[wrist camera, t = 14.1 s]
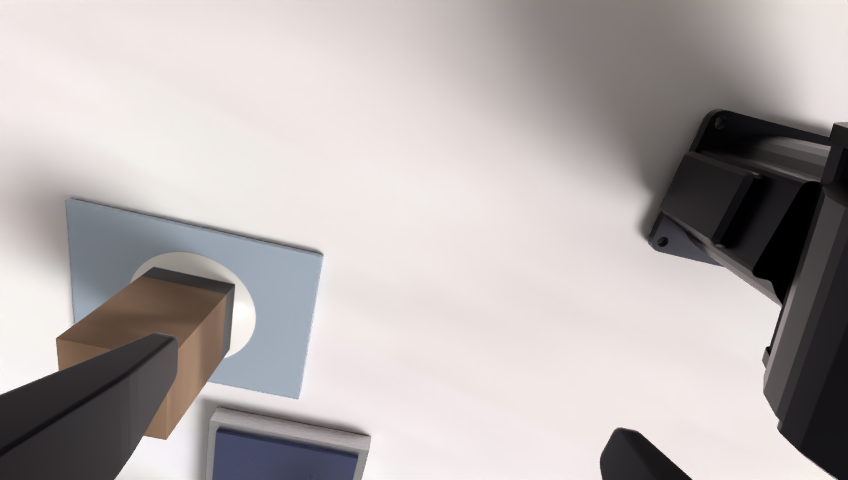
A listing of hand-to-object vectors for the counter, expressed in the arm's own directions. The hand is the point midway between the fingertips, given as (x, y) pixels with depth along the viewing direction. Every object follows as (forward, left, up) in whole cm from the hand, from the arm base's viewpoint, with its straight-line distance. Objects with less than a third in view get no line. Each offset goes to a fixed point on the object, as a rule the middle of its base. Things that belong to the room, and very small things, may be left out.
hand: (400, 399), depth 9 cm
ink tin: (+4, +18, -12) cm, 22 cm away
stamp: (+10, +8, -12) cm, 18 cm away
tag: (+10, +8, -12) cm, 18 cm away
